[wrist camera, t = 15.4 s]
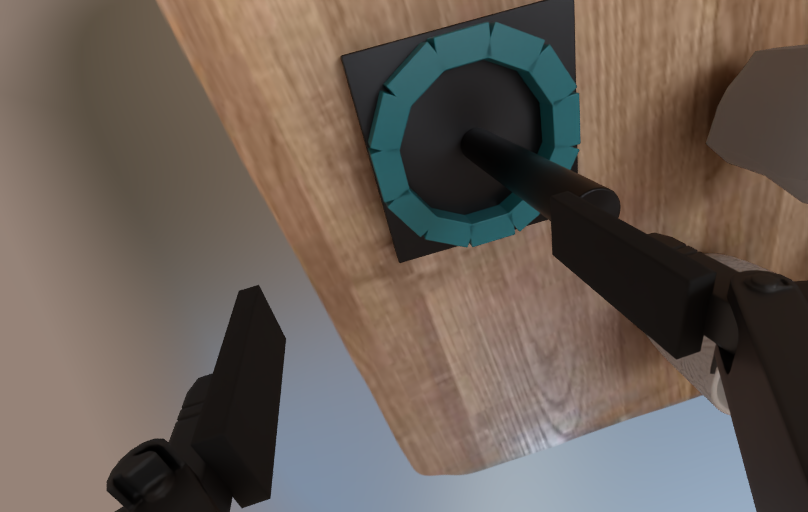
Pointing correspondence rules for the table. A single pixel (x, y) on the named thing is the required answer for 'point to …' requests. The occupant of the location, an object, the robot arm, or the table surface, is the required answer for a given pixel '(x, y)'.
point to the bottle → (767, 119)
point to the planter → (707, 351)
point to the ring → (419, 74)
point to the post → (474, 128)
